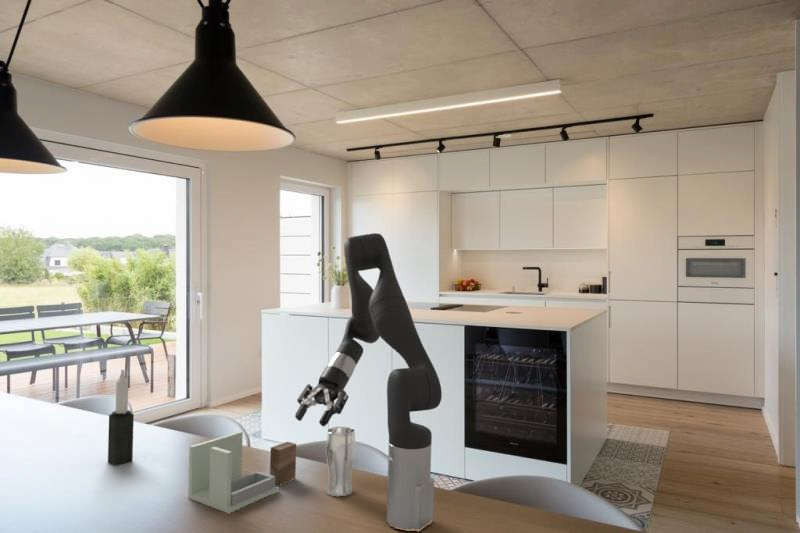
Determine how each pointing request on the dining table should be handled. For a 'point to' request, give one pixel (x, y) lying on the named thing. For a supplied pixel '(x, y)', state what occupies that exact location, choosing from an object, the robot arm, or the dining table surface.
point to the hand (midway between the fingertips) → (309, 421)
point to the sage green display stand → (225, 475)
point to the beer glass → (340, 460)
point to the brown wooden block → (283, 462)
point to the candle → (121, 426)
